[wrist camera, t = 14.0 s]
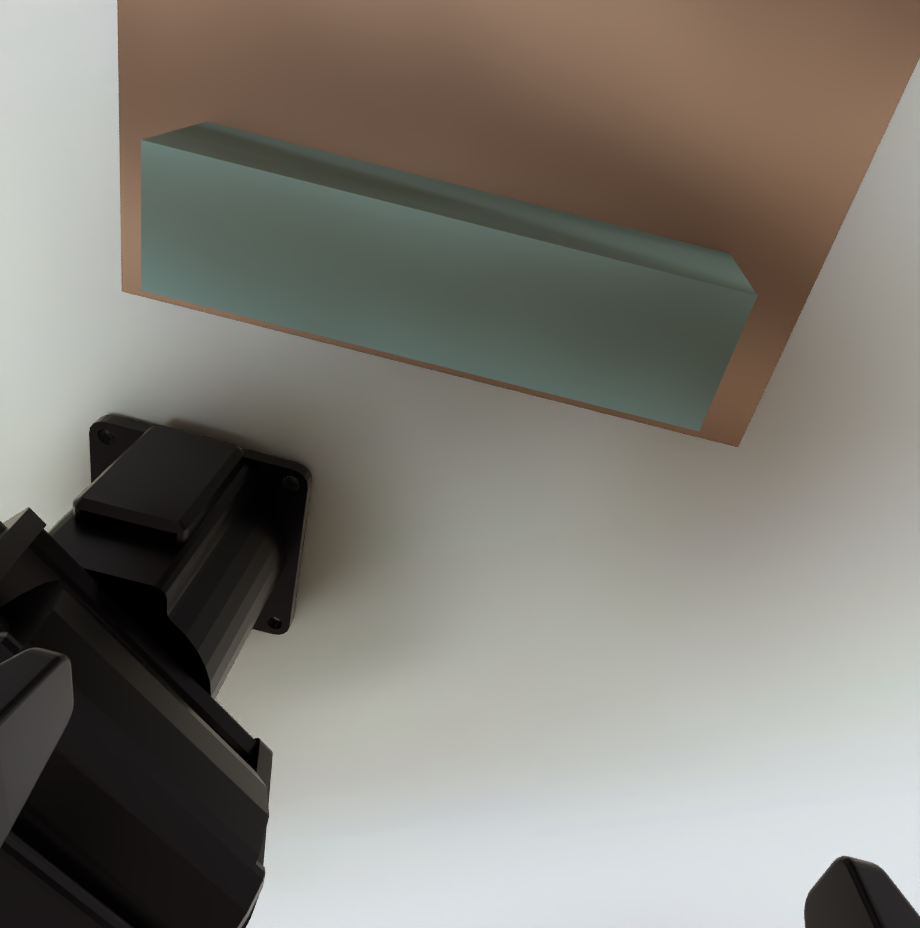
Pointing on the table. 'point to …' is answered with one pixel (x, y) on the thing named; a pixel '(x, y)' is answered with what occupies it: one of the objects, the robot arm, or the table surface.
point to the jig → (510, 181)
